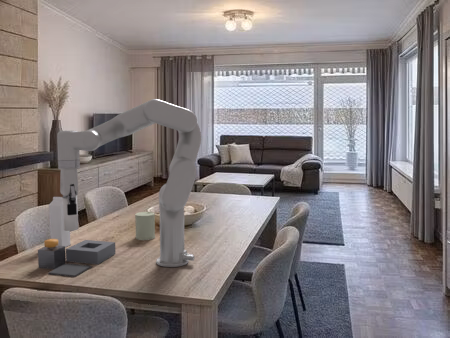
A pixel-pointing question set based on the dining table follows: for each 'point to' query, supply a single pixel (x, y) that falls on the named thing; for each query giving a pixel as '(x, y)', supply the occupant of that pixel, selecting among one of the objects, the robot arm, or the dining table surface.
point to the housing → (90, 252)
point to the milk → (58, 222)
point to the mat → (70, 270)
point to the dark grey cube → (51, 257)
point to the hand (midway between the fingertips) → (70, 212)
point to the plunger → (51, 243)
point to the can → (145, 225)
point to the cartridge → (69, 216)
